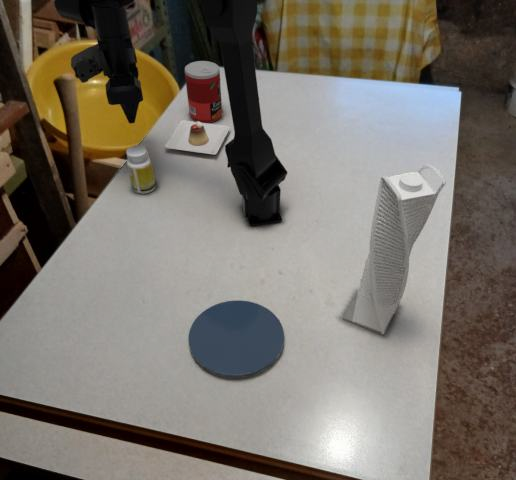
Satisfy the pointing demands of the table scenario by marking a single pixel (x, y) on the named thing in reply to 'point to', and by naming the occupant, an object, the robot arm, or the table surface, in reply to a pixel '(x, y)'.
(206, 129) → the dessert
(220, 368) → the plate
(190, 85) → the canned food
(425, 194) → the skyscraper
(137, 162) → the supplement bottle
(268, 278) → the table surface
